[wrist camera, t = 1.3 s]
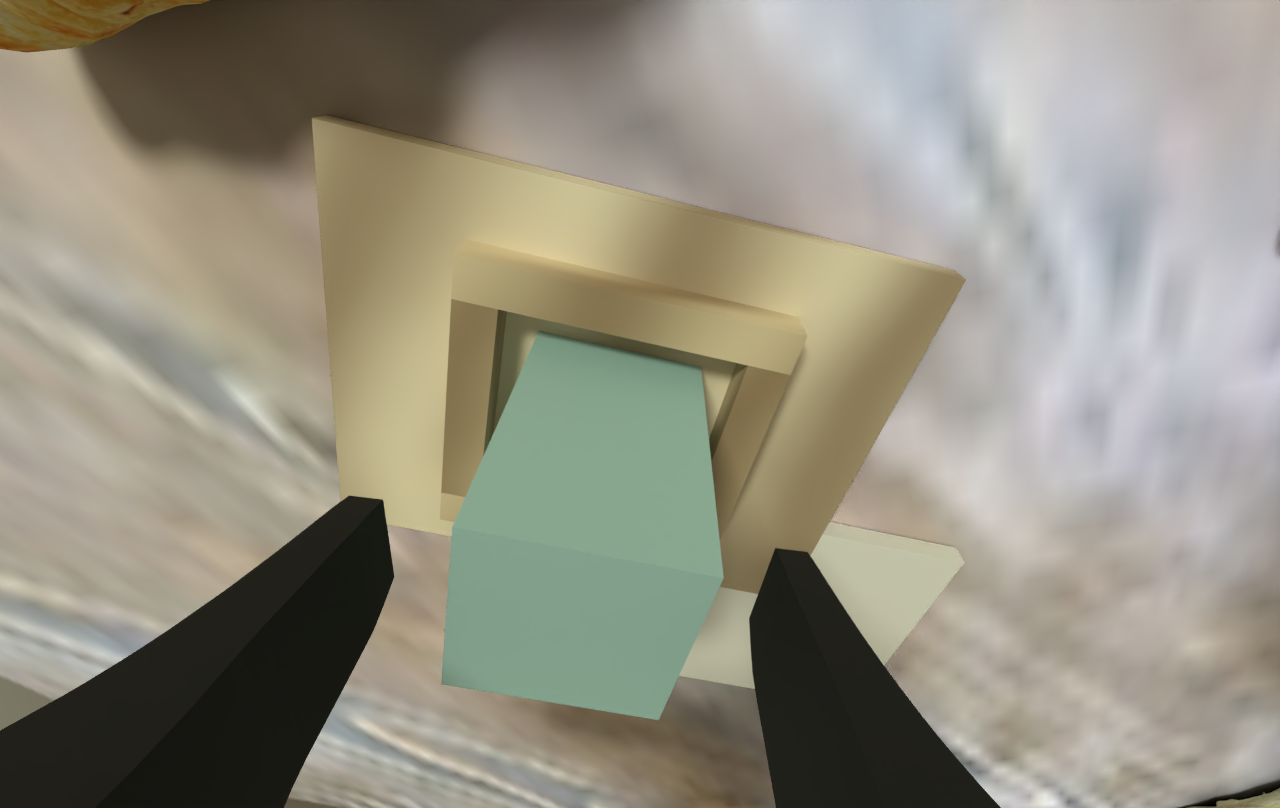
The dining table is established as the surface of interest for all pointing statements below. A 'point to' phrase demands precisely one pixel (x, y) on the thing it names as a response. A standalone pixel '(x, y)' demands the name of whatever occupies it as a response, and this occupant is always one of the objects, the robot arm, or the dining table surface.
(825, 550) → the coaster
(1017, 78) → the dining table surface
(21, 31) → the croissant
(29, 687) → the dining table surface
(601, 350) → the block
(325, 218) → the pocket board
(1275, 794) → the storage basket
